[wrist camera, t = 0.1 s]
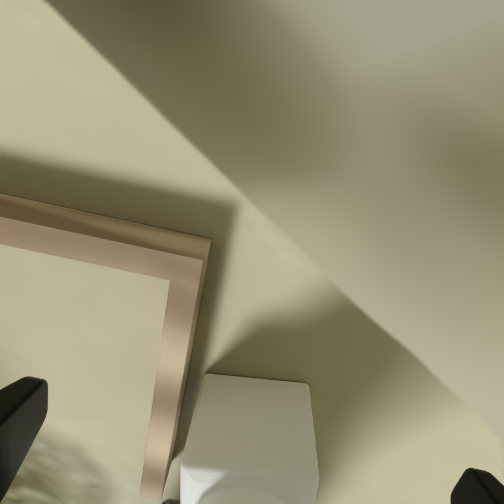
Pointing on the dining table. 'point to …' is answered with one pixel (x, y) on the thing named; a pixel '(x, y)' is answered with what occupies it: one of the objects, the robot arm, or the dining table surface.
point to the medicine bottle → (250, 444)
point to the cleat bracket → (138, 261)
